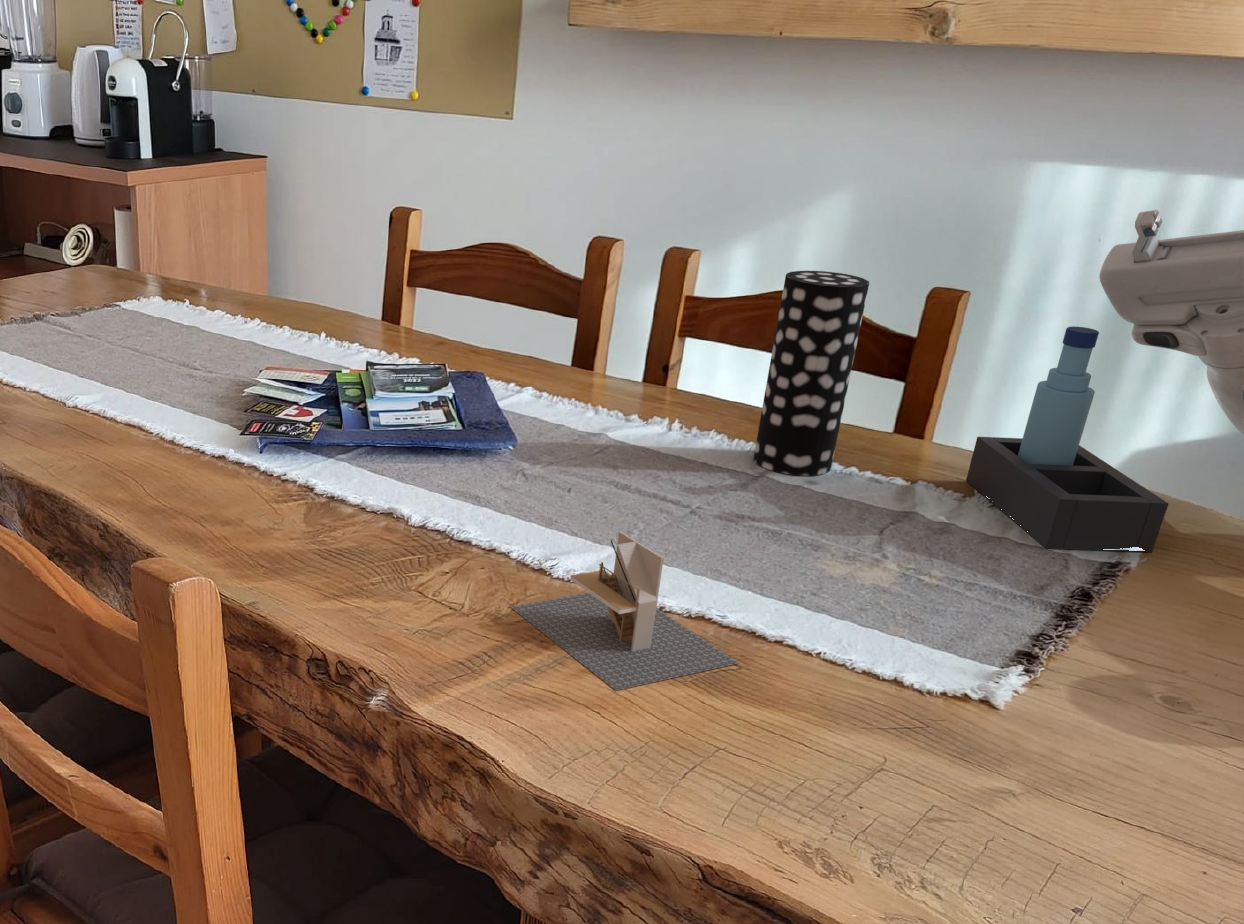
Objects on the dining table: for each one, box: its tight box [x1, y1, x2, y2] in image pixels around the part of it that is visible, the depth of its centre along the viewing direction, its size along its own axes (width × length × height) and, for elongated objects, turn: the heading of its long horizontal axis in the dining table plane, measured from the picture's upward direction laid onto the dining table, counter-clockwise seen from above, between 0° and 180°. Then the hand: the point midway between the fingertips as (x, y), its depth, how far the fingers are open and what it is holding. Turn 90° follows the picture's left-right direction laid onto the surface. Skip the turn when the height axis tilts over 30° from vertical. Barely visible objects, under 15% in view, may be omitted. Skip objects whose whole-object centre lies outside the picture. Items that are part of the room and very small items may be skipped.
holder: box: [965, 436, 1169, 554], centre depth 126 cm, size 10×19×5 cm, turn 0°
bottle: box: [1018, 326, 1100, 466], centre depth 127 cm, size 5×5×18 cm
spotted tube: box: [752, 270, 870, 477], centre depth 134 cm, size 8×8×20 cm
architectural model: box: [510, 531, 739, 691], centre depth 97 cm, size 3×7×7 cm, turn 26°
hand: (1201, 208), depth 113 cm, fingers open, 8 cm apart
